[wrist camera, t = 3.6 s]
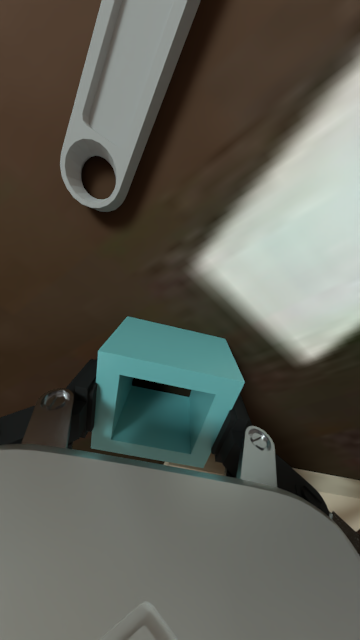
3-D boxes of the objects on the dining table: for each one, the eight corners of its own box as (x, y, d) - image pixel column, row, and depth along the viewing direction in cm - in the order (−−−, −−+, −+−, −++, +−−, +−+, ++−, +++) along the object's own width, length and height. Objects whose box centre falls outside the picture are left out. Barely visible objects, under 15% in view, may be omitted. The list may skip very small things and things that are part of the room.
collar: (225, 338, 11) (244, 382, 8) (198, 409, 14) (203, 468, 10) (127, 316, 11) (97, 350, 7) (116, 392, 13) (90, 448, 10)
